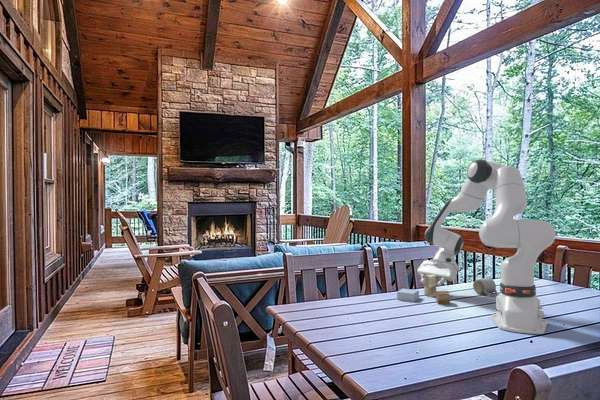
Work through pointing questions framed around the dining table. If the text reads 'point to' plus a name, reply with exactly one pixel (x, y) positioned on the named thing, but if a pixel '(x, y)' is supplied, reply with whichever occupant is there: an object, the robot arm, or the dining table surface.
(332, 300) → the dining table surface
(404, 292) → the slate slab
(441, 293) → the walnut cube
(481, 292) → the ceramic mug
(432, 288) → the birch pillar
